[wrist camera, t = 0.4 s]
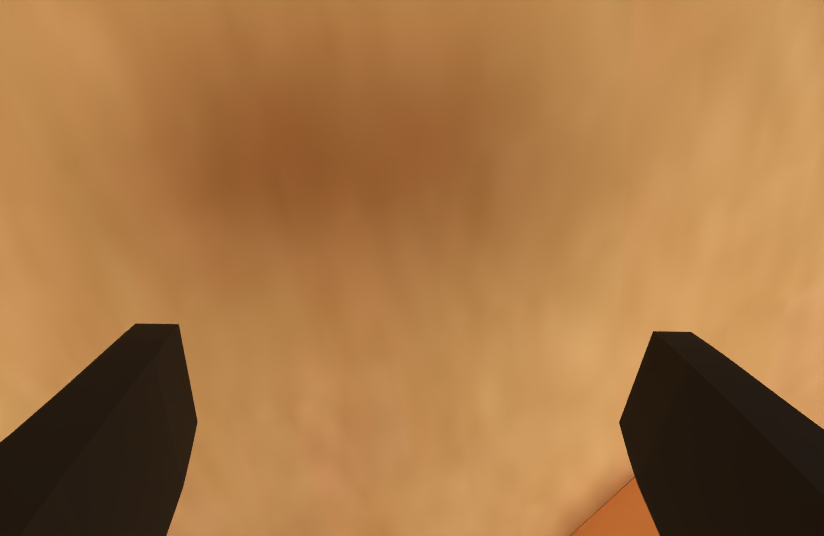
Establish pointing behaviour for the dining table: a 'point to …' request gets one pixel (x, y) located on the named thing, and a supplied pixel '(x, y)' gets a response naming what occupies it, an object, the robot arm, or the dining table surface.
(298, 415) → the dining table surface
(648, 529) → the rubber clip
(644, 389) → the robot arm
